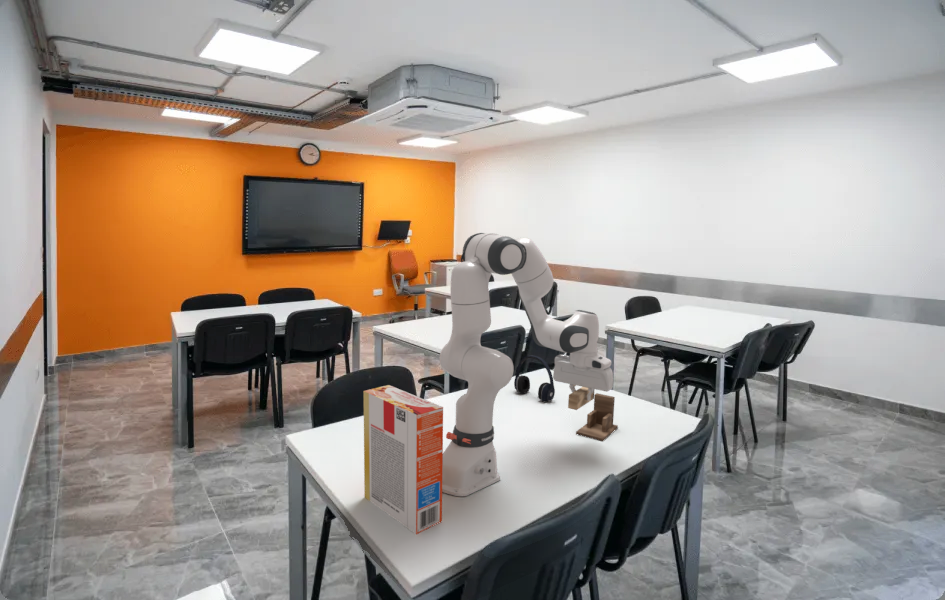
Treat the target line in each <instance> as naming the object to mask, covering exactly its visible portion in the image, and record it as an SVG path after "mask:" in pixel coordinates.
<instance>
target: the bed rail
mask: <svg viewBox="0 0 945 600" xmlns="http://www.w3.org/2000/svg"><path fill="white" fill-rule="evenodd" d="M595 390H596V389H594V391H593V393H592V394H591V399H590V400H589V401H588V400H585V395H586V394H588V393H589V392H590V391H588V388H587V387H582V386H580V387H579V388H578V389H576V391H574V392H573V393H572V392H571V393H569V394H568V399H567V400H568V402H567V403H568V404H567V408H568V409H570V410H571V409H572V410H575V411H577V410H579V409H580V408H582V407H584V406H585V405H587V404H588V403H590V402H592V401H594V396H595Z"/></svg>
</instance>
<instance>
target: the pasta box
mask: <svg viewBox="0 0 945 600" xmlns="http://www.w3.org/2000/svg"><path fill="white" fill-rule="evenodd" d="M443 442H444V406H442V405H440V404H437V403H435V402H431V401H429V400H427V399H424V398H422V397H420V396H417V395H414V394H412V393H409V392H408V391H405V390H402V389H399V387H398V388H397V387H395V386H393V385H390V384H387V385H383V386H378V387H375V388H371V389H370V388H369V389H367V390H363V455H364V456H363V458H364V459H363V460H364V461H363V464H364V465H363V466H364V467H363V470H364V471H363V473H364V474H363V475H364V477H363V478H364V498H365V499H366V500H368V501H369V502H370V503H372V504H374V505H375V506H376V507H377V508H379V509H380V510H382V511H383V512H384V513H386V514H387V515H388V516H390V517H391V518H393V519H394V520H395V521H397V522H398V523H400V524H401V525H403V526H404V527H405V528H407V529H408V530H410V532H412V533H414V534H416V535H418V534H420V533H422V532H424V531H425V530H428V529H430V528H432V527H434V526H436V525H438V524H440V523H442V522H441V521H443V520H442V519H443V492H442V465H443V453H444V450H443V449H444V447H443V446H444V445H443V444H444V443H443ZM439 522H440V523H439ZM437 523H438V524H437ZM435 524H436V525H435ZM433 525H434V526H433ZM431 526H432V527H431ZM429 527H430V528H429Z"/></svg>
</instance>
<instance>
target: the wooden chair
mask: <svg viewBox="0 0 945 600" xmlns="http://www.w3.org/2000/svg"><path fill="white" fill-rule="evenodd" d="M615 398H616V397H615V396H611V395H607V394H602V393H598V392H596V393H594V399H593V410H592V411H590V412H589V413H587V416H586V423H585V424H584V425H582V427H580V428H579V429H577V430H576V431H575V435H577V434H578V435H577V436H581V435H582V436H581V437H585V436H586V437H585V438H588V437H589V438H588V439H592V438H593V440H596V439H597V441H600V442H604V441H605V440H606V439H607V438H608V437H609V436H610V435H612V434H613V433H614V432H615V431H616V430H617V429H618V427H619V426H618V425H617V424H614V417H615V416H614V414H615ZM614 430H615V431H614ZM613 431H614V432H613ZM612 432H613V433H612ZM611 433H612V434H611ZM604 439H605V440H604ZM603 440H604V441H603Z"/></svg>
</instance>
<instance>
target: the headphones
mask: <svg viewBox="0 0 945 600" xmlns="http://www.w3.org/2000/svg"><path fill="white" fill-rule="evenodd" d="M528 359H535V360H537V361H539V362H540V363H541V364H542V365H543V367H545V370H546V371H547V374H548V378H549V382H542V383H541V384H540V386H539V387H538V390H537V398H538V399H539V400H540V401H541V402H548V401H552V400H553V399H554V398H555V393H556V389H555V385H554V384H555V383H554V378H553V374H552V371H551V369H550V367H549V365H548V363H547V362H546V361H545V360H544V359H543V358H542V357H540V356H538V355H531V354H530V355H527V356H524V357H523V358H522V359H521V360H520V362H519V363H518V365H517V367H516V373H515V377H514V381H513V382H514V383H513V385H514V389H515V390H516V392H517V394H527V393H528V392H529V391H530V389H531V383H530V382H531V381H530V378H529V377H528V376H527V375H522V374H521V375H520V371H521V367H522V365H523V363H525V361H527V360H528Z"/></svg>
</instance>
